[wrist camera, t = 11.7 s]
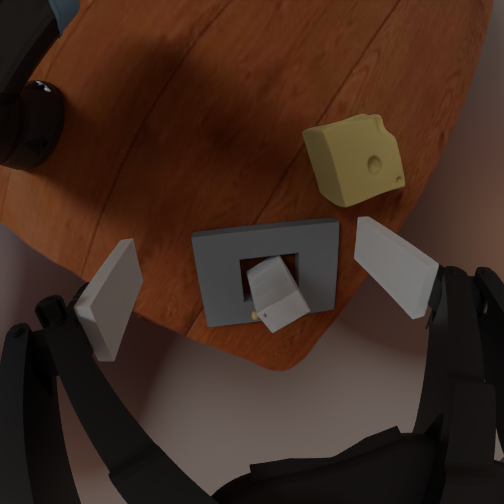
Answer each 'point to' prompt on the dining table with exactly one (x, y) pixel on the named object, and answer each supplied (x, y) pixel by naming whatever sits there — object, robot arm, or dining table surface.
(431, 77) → the dining table surface
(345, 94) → the dining table surface
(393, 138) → the cheese
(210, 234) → the grey frame plate
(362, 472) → the robot arm
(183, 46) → the dining table surface
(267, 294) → the skincare box
